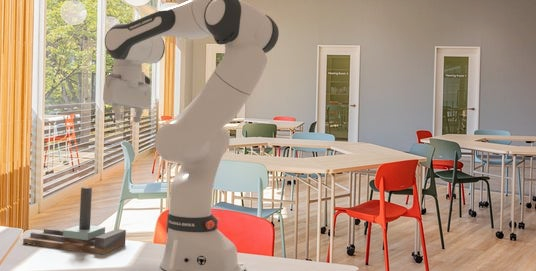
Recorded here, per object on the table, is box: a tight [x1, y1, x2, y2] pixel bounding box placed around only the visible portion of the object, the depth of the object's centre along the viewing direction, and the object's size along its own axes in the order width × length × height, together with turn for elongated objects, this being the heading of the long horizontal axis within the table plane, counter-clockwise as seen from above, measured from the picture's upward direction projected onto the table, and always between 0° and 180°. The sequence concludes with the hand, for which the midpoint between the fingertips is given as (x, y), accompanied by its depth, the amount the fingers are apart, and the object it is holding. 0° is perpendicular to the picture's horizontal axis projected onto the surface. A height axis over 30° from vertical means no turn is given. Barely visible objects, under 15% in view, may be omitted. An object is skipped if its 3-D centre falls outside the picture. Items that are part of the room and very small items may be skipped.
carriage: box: [63, 186, 106, 240], centre depth 158 cm, size 8×9×14 cm
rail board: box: [22, 227, 127, 255], centre depth 159 cm, size 26×12×4 cm, turn 76°
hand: (128, 121), depth 168 cm, fingers open, 8 cm apart
